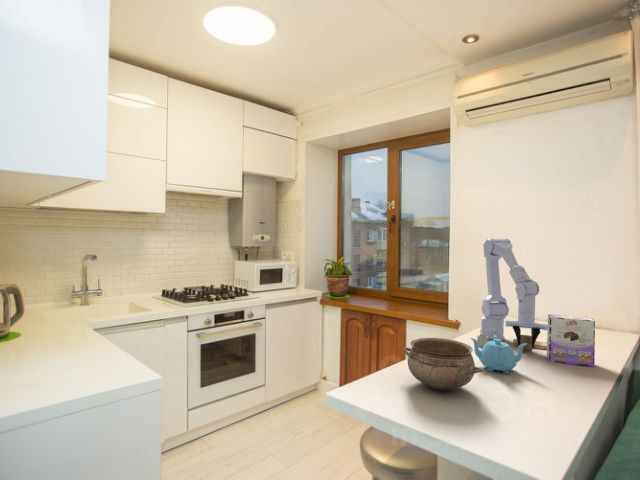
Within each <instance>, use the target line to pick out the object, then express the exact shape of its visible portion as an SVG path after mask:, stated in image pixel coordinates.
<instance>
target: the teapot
mask: <svg viewBox="0 0 640 480" xmlns="http://www.w3.org/2000/svg"><path fill="white" fill-rule="evenodd" d="M470 339H471V340H472V341H473V345H474V346H473V348H474V349H473V351H474V354H475V356H476V357H477V358H478V359H479V362H480V363H481V364H482V365H483V366H484V367H485V368H487V369H486V371H487V372H490V373H492V372H494V370H495V371H502V373H503V374H506V375H510V374H511V373H510V371H511V370H514V368H515V367H516V366H517V363H518V362H520V361H521V360H522V358H523V352H522V350H523V347H524V346H525V345H526V344H527V343H525V344H521V345H520V346H519V347H517V348H518V349H517V352H516V353H514V351H513V350H512V347H511V346H510V345H509V344H508V343H506V342H503V340H500V339H497V336H496V335H495V334H494V335H493V339H492V340H491V341H490V340H489V342H487V343H486V344H485V345H484V347H481V350H480V348H479V346H478V342H477V338H476V339H475V338H473V337H470Z"/></svg>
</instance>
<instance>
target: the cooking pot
mask: <svg viewBox="0 0 640 480" xmlns="http://www.w3.org/2000/svg"><path fill="white" fill-rule="evenodd" d="M409 344H410V346H411V348H410V347H404V348H403V349H402V350H403V352H404V354H405V355H406V356H407V367H408V370H409V372H410V373H411V376H413V377H414V378H415V379H416V380H417V381H419V383H421V384H423V385H425V386H426V387H428V388H429V389H431V390H433V391H436V392H440V393H441V392H442V393H443V392H445V393H448V392H451V391H453V390H455V389H459V388H462V387H463V386H466V385H467V384H469V383H470V382H471V381H472V379H473V377H474V376H475V374H479V373H481V372H484V370H485V368H484V367H483V366H480V367H478V366H475V365H476V364H475V360H474V357H473V355H472V352H473V351H474V349H473V347H472V346H470V344H468V343H465V342H461V341H458V340H454V339H450V338H441V337H440V338H439V337H423V338H422V337H421V338H416V339H413V340H411V341H410V343H409Z"/></svg>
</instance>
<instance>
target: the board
mask: <svg viewBox="0 0 640 480" xmlns="http://www.w3.org/2000/svg"><path fill="white" fill-rule="evenodd" d="M513 345H514V347H517V348H519V346H518V342H517V338H513ZM533 349H537V350H544V351H545V350H546V351H547V342H546V341H535V344H534V348H533Z"/></svg>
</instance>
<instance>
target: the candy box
mask: <svg viewBox="0 0 640 480" xmlns="http://www.w3.org/2000/svg"><path fill="white" fill-rule="evenodd" d="M547 325H548V330H546V331H547V332H546V333H547V334H546V335H547V336H546V341H547V350H546V358H547V361H548V362H551V363H560V364H567V365H575V366H584V367H592V368H594V367H595V361H596V360H595V359H596V358H595V349H596V347H595V345H596V341H595V340H596V337H595V336H596V320H595V319H594V318H593V317H587V316H586V317H585V316H584V317H583V316H575V315H573V316H572V315H565V314H564V315H563V314H550V313H549V314H547Z"/></svg>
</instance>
